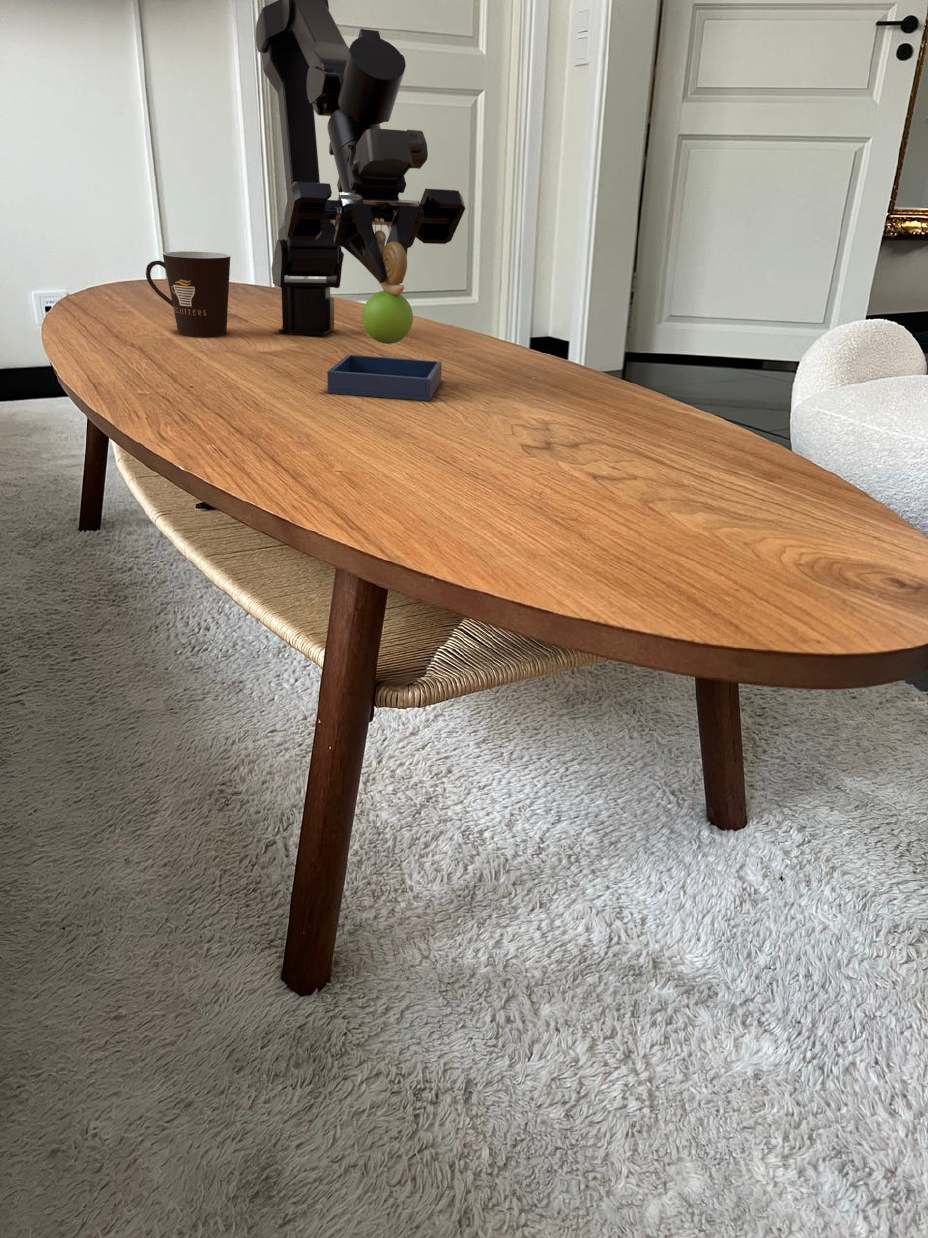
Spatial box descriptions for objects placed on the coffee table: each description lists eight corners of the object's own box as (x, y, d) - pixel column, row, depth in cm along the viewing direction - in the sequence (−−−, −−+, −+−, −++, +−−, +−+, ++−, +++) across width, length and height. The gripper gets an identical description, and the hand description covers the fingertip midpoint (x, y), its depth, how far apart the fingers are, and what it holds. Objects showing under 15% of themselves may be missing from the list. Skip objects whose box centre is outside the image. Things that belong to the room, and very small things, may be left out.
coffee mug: (247, 335, 124) (243, 257, 120) (192, 340, 118) (185, 258, 114) (200, 322, 131) (194, 248, 126) (145, 327, 125) (138, 249, 121)
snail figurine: (389, 332, 102) (400, 218, 96) (419, 348, 98) (432, 230, 92) (347, 333, 99) (355, 216, 93) (376, 350, 95) (386, 228, 89)
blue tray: (327, 393, 96) (327, 371, 95) (347, 374, 105) (347, 354, 104) (429, 401, 96) (430, 379, 95) (440, 381, 104) (441, 361, 103)
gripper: (287, 88, 87) (318, 223, 84) (464, 105, 94) (500, 229, 91) (272, 175, 97) (299, 298, 94) (433, 184, 104) (464, 299, 101)
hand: (392, 280), depth 94 cm, fingers closed on snail figurine
